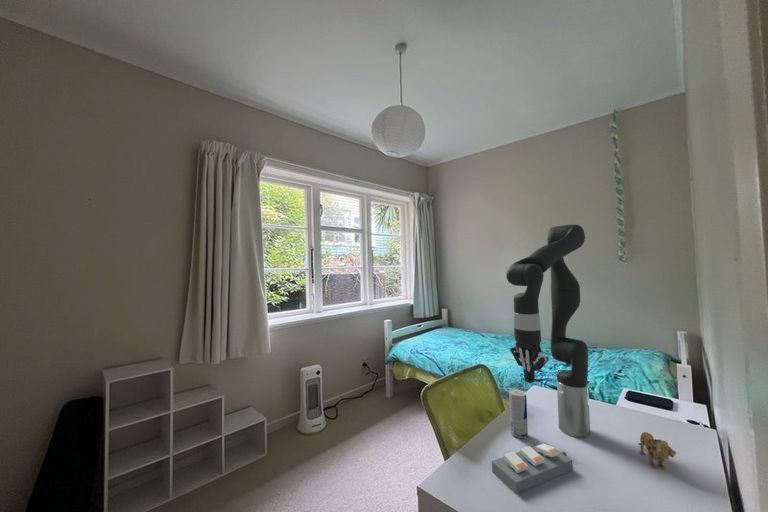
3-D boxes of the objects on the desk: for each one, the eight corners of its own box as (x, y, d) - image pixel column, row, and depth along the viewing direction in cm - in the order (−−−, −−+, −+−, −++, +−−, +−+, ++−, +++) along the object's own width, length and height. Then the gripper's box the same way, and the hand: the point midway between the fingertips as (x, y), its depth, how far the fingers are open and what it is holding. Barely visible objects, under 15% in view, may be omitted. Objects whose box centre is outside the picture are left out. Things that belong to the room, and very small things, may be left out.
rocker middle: (528, 451, 87) (529, 445, 87) (543, 465, 83) (544, 458, 82) (519, 454, 86) (520, 448, 86) (534, 468, 81) (535, 461, 81)
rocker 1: (512, 456, 85) (513, 450, 85) (526, 471, 80) (527, 465, 80) (503, 459, 84) (504, 453, 83) (517, 475, 79) (518, 468, 79)
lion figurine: (680, 479, 80) (678, 446, 80) (657, 475, 81) (655, 443, 82) (647, 446, 94) (646, 419, 95) (628, 444, 96) (627, 417, 96)
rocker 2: (545, 450, 89) (543, 442, 90) (560, 456, 85) (558, 448, 85) (536, 453, 88) (535, 445, 88) (551, 459, 83) (550, 452, 84)
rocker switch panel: (551, 449, 93) (551, 440, 94) (579, 467, 85) (579, 457, 85) (492, 471, 84) (491, 461, 84) (516, 493, 76) (516, 482, 76)
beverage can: (529, 440, 99) (528, 396, 99) (512, 438, 100) (511, 395, 100) (525, 430, 104) (523, 389, 105) (508, 429, 105) (507, 388, 106)
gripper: (554, 329, 86) (557, 387, 85) (518, 321, 98) (521, 372, 97) (536, 332, 83) (539, 393, 82) (502, 324, 95) (504, 376, 94)
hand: (529, 381), depth 90 cm, fingers closed
